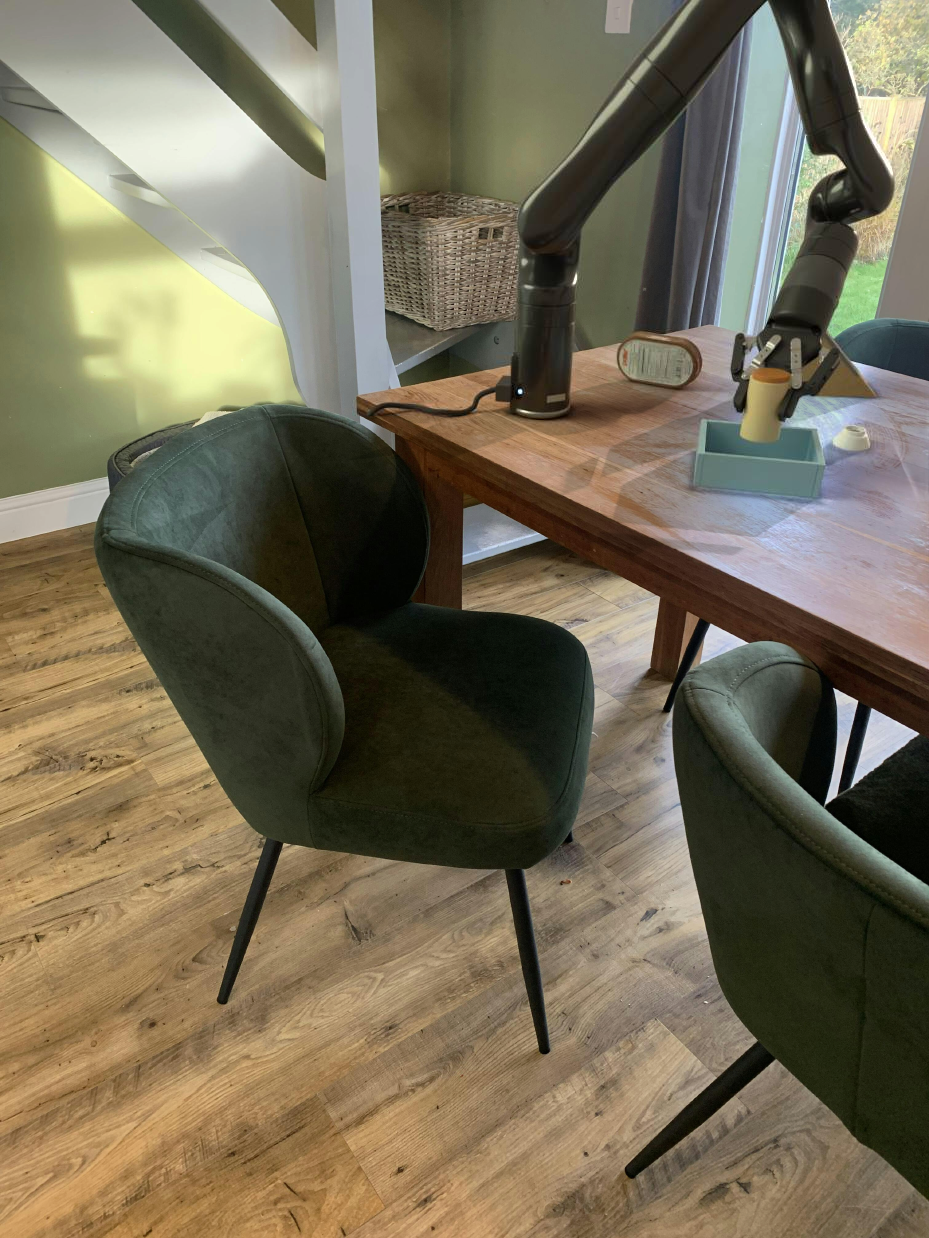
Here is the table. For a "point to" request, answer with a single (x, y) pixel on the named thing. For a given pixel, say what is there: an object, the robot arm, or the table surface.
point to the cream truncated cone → (852, 438)
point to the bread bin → (759, 460)
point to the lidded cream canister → (764, 405)
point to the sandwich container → (839, 375)
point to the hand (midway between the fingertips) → (759, 413)
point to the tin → (659, 359)
